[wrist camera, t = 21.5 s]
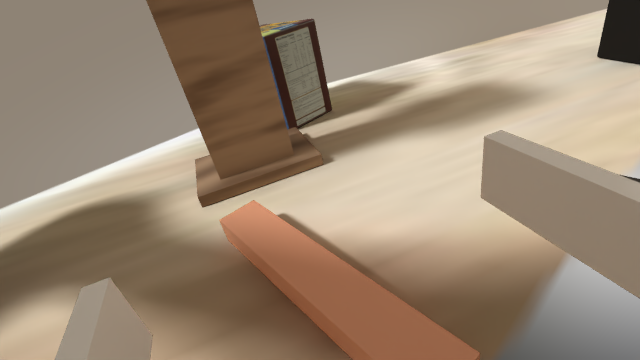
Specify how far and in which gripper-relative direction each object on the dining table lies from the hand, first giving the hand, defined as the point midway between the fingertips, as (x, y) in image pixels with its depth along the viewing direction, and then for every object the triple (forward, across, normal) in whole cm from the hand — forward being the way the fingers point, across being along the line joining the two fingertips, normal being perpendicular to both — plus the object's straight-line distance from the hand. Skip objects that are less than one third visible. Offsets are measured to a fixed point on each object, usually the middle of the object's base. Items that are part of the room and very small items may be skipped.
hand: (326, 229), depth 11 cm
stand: (+35, 0, -13) cm, 37 cm away
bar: (+10, 0, -14) cm, 17 cm away
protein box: (+52, +9, -14) cm, 54 cm away
